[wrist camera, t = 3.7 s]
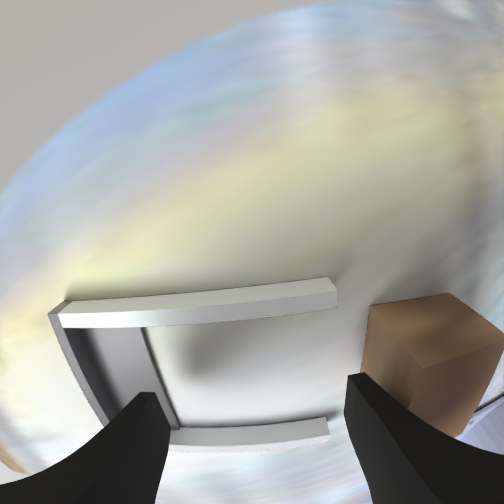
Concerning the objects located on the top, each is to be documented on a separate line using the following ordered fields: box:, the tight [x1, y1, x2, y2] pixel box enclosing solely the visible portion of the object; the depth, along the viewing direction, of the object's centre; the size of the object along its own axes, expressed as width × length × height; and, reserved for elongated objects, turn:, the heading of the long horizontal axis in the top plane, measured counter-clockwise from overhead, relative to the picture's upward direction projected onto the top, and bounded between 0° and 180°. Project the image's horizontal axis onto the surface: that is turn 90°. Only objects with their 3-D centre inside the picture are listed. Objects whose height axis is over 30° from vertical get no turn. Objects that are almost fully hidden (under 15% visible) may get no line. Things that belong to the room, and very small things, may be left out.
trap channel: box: [48, 277, 338, 453], centre depth 10 cm, size 11×8×1 cm
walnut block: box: [360, 293, 504, 438], centre depth 9 cm, size 4×5×4 cm
